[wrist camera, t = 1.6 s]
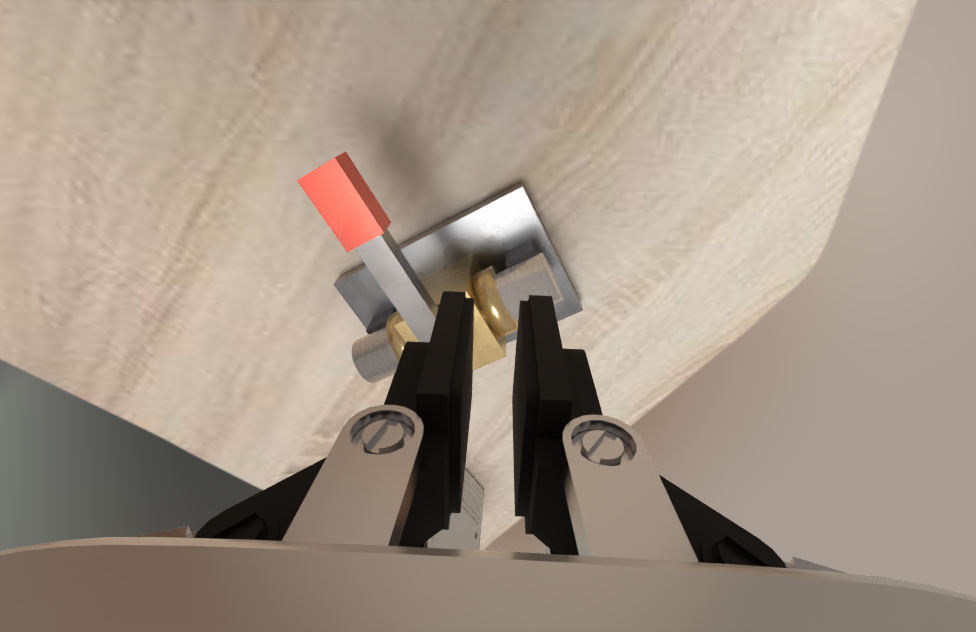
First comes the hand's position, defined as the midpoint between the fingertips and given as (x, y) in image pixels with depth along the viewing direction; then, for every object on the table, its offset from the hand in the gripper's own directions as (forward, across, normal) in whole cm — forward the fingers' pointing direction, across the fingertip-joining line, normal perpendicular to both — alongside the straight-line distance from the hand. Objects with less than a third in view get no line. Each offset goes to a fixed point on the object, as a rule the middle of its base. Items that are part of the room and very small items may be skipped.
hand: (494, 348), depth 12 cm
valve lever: (+14, +5, +4) cm, 16 cm away
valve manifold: (+22, +2, +9) cm, 24 cm away
